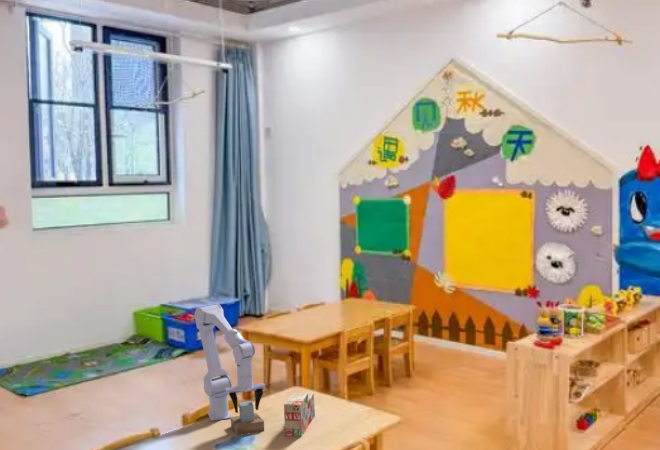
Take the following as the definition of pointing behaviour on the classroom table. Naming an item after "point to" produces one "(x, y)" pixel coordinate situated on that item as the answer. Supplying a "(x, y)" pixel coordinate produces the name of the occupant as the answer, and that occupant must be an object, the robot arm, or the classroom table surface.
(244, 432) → the walnut base
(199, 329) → the robot arm
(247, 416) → the grey block
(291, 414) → the stack of blocks
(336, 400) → the classroom table surface
